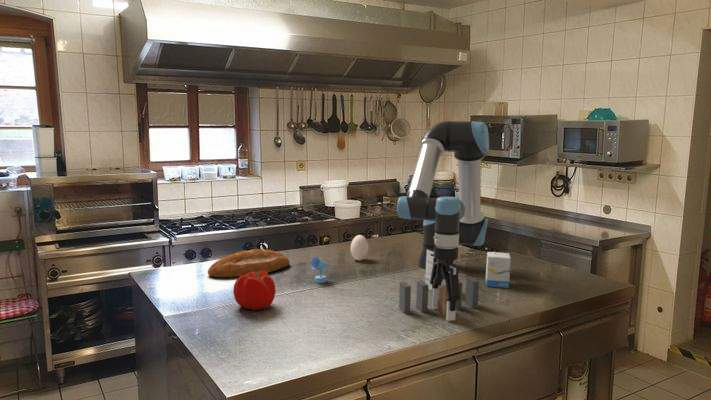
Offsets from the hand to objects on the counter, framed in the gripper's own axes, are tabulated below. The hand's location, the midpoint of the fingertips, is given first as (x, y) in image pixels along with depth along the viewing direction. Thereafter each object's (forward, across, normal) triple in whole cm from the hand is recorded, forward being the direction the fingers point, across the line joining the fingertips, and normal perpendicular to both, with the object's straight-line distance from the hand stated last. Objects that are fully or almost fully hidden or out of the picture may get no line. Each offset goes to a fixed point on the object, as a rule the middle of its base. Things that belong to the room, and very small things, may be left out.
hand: (443, 313), depth 167 cm
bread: (+1, -63, -57) cm, 85 cm away
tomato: (+1, -20, -58) cm, 61 cm away
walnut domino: (0, 0, 0) cm, 0 cm away
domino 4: (0, -6, +13) cm, 14 cm away
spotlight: (+1, -43, -32) cm, 54 cm away
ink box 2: (+1, -26, +34) cm, 43 cm away
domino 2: (0, -6, -5) cm, 8 cm away
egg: (+1, -70, -9) cm, 71 cm away
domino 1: (0, -6, -11) cm, 13 cm away
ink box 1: (+1, -24, +8) cm, 25 cm away
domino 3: (0, -6, +7) cm, 9 cm away
